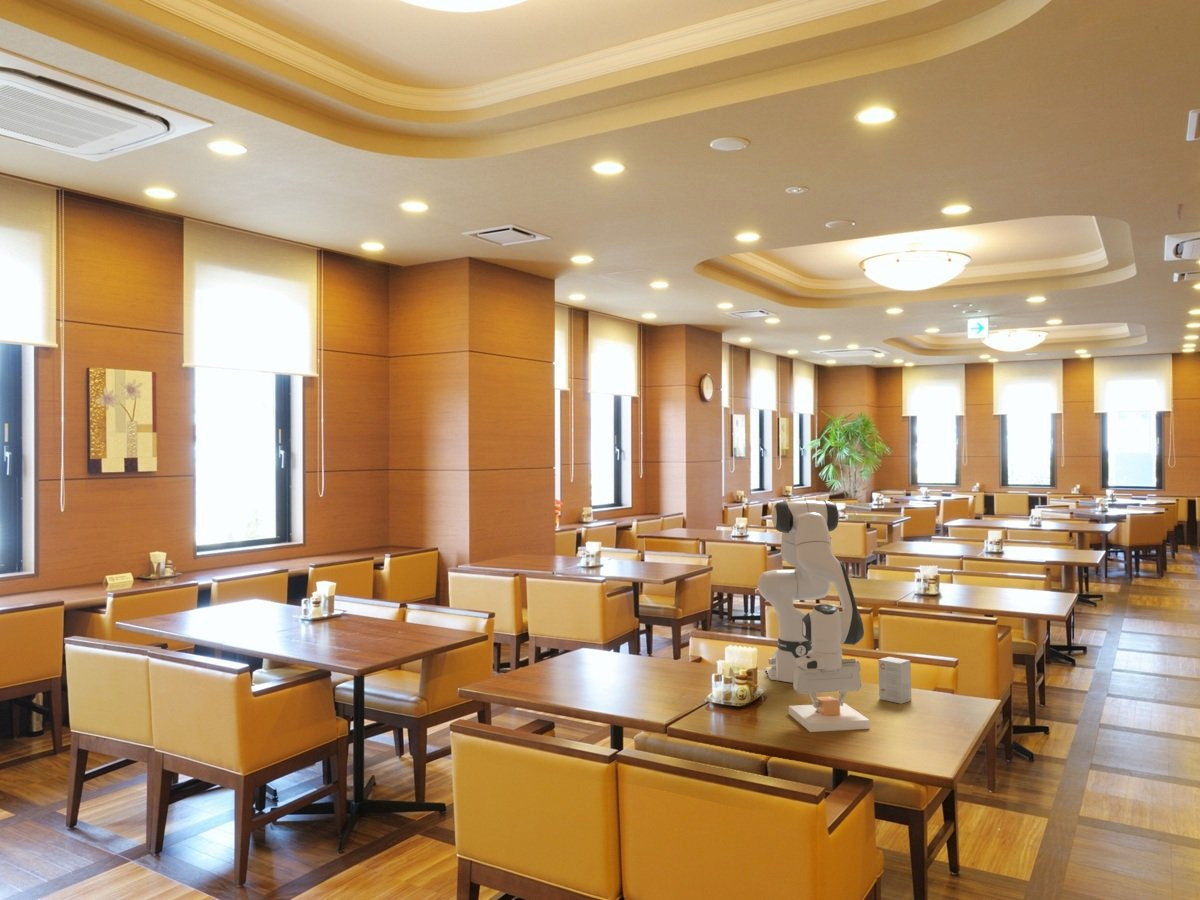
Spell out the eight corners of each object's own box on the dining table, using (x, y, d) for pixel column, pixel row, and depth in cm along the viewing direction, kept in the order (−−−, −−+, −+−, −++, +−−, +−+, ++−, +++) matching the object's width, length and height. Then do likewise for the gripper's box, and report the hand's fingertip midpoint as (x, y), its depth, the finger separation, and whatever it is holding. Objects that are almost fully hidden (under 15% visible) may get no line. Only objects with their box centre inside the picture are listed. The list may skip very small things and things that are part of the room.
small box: (911, 700, 279) (911, 660, 279) (901, 704, 275) (900, 663, 275) (889, 695, 285) (888, 656, 286) (878, 699, 281) (877, 659, 281)
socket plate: (788, 714, 266) (788, 703, 266) (844, 711, 269) (844, 701, 269) (810, 732, 249) (809, 721, 249) (869, 728, 251) (869, 717, 251)
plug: (816, 717, 261) (816, 697, 261) (832, 717, 262) (831, 696, 262) (823, 723, 255) (823, 702, 255) (840, 723, 256) (839, 701, 256)
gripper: (855, 656, 263) (856, 701, 263) (790, 659, 261) (791, 705, 261) (864, 661, 257) (865, 707, 257) (798, 664, 254) (799, 711, 254)
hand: (827, 706), depth 259 cm, fingers open, 6 cm apart
